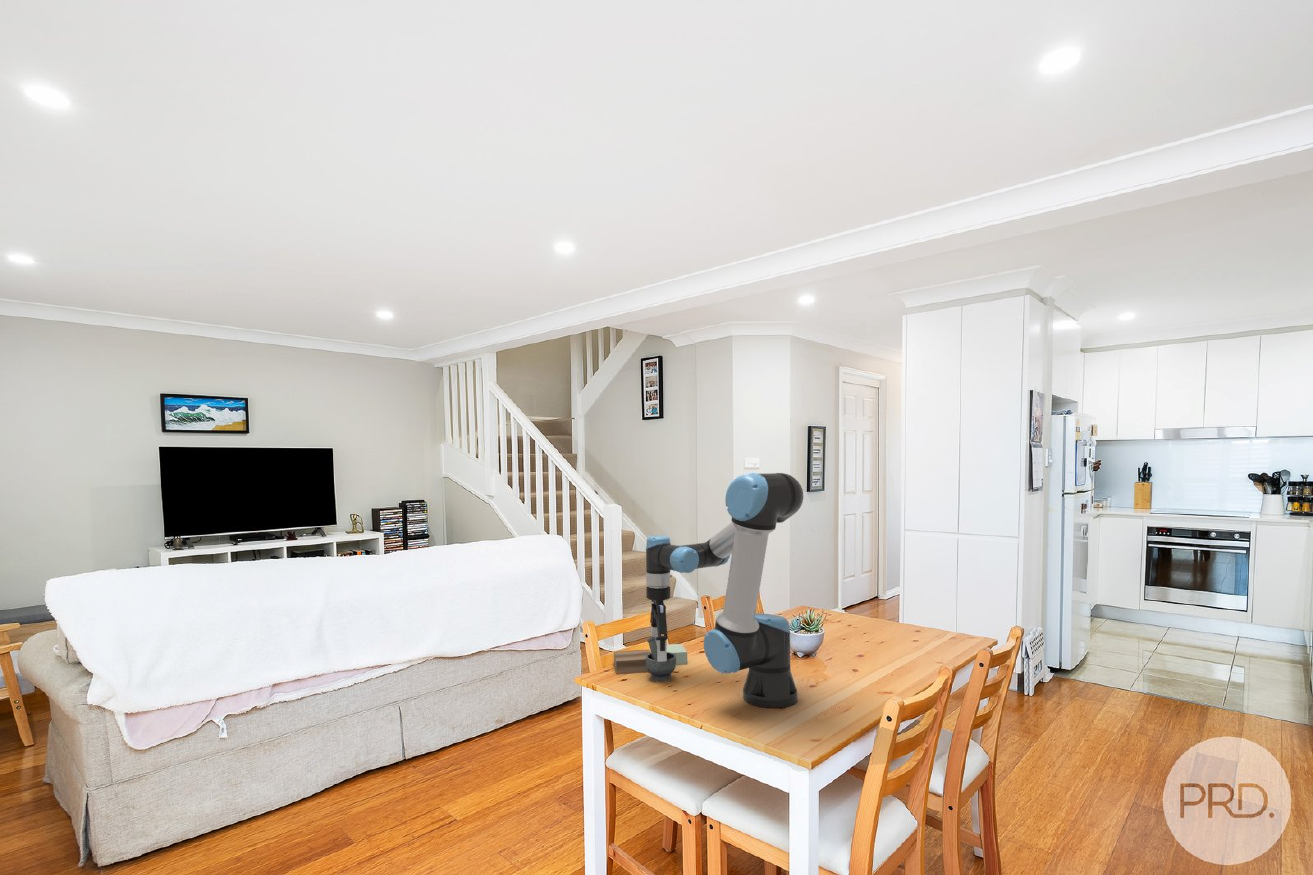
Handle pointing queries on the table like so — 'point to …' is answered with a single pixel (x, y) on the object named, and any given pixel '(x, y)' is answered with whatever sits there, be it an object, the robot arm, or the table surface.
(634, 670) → the walnut plinth
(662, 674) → the mortar and pestle
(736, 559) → the robot arm
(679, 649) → the green plinth
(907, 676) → the table surface
